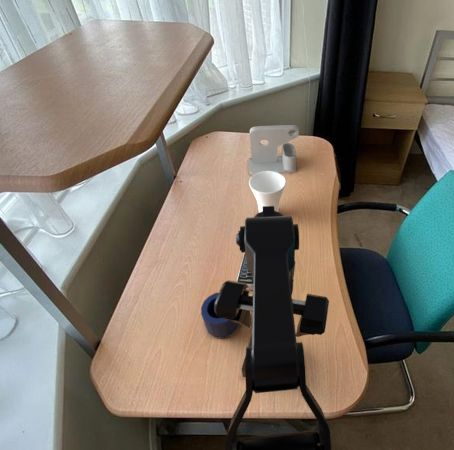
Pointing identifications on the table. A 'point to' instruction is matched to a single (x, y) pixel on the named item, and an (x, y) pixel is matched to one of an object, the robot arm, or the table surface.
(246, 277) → the multiport hub
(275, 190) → the cup
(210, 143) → the table surface
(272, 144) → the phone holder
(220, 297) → the robot arm
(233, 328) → the blue hollow cylinder
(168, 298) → the table surface
